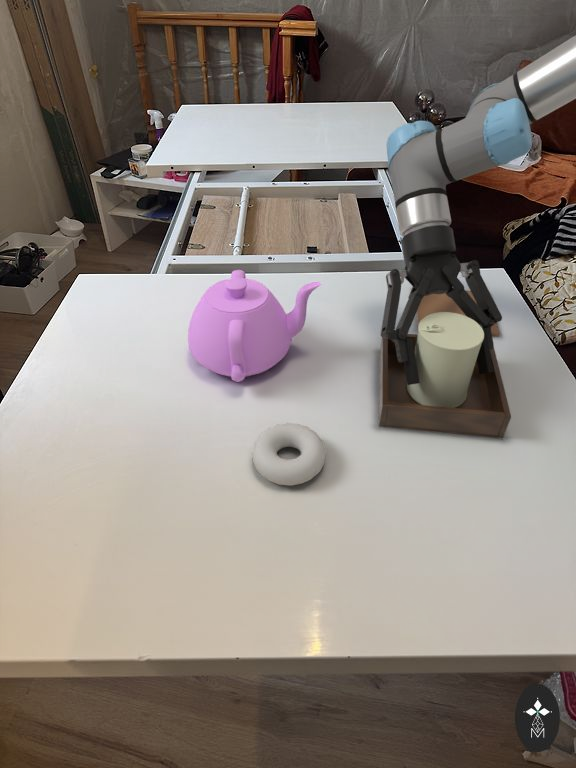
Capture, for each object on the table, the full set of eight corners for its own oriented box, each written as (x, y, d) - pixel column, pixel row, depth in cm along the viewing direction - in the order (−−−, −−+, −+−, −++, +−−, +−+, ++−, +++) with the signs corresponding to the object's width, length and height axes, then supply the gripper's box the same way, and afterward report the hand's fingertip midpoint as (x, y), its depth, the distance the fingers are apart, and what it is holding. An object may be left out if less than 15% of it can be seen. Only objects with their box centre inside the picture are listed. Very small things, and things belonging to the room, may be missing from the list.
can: (403, 369, 87) (414, 308, 79) (460, 371, 86) (477, 309, 78) (410, 409, 80) (424, 346, 72) (472, 411, 80) (492, 347, 72)
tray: (485, 361, 89) (492, 340, 86) (502, 438, 76) (511, 416, 73) (379, 352, 91) (382, 331, 88) (378, 426, 78) (382, 405, 75)
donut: (336, 478, 71) (309, 426, 78) (338, 462, 68) (310, 410, 75) (265, 500, 68) (243, 444, 75) (265, 484, 66) (242, 427, 73)
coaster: (487, 294, 104) (488, 291, 104) (498, 336, 94) (499, 334, 94) (414, 289, 106) (415, 286, 105) (418, 330, 95) (418, 328, 95)
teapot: (324, 393, 83) (329, 320, 74) (184, 398, 82) (171, 325, 73) (312, 313, 99) (314, 246, 90) (195, 317, 99) (186, 249, 89)
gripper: (484, 233, 84) (508, 369, 83) (344, 248, 81) (367, 391, 80) (511, 215, 77) (537, 365, 76) (358, 230, 73) (383, 388, 72)
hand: (450, 378), depth 78 cm, fingers open, 11 cm apart
